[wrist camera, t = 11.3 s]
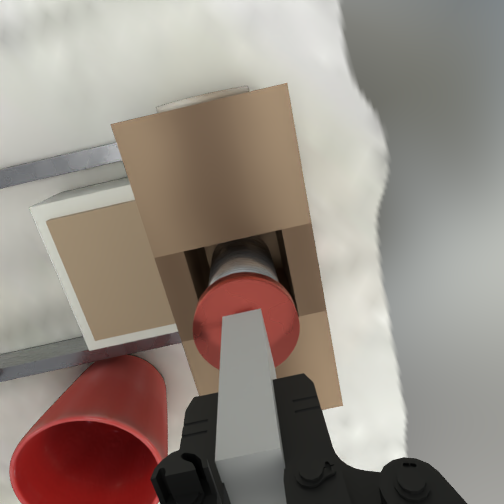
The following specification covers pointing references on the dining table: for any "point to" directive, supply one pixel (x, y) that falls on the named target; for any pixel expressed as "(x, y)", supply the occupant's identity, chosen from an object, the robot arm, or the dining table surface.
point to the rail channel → (77, 348)
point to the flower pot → (97, 439)
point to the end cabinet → (229, 212)
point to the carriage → (105, 263)
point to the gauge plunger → (245, 299)
